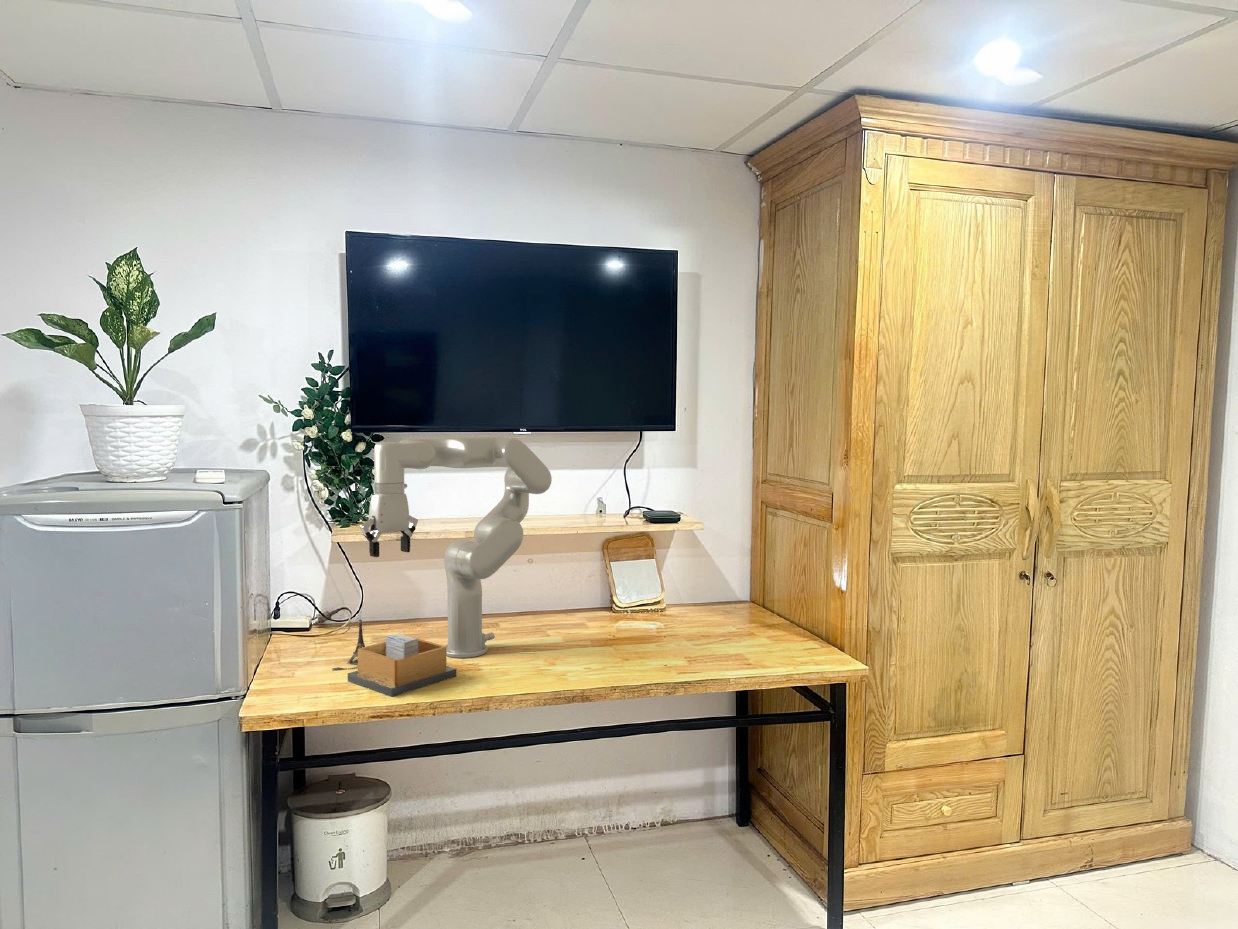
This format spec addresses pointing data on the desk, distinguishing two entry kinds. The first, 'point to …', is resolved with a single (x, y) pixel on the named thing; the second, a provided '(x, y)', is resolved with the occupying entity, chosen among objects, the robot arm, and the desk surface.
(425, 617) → the desk surface
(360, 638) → the eiffel tower figurine
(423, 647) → the brown open box
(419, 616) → the desk surface
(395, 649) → the medicine box
